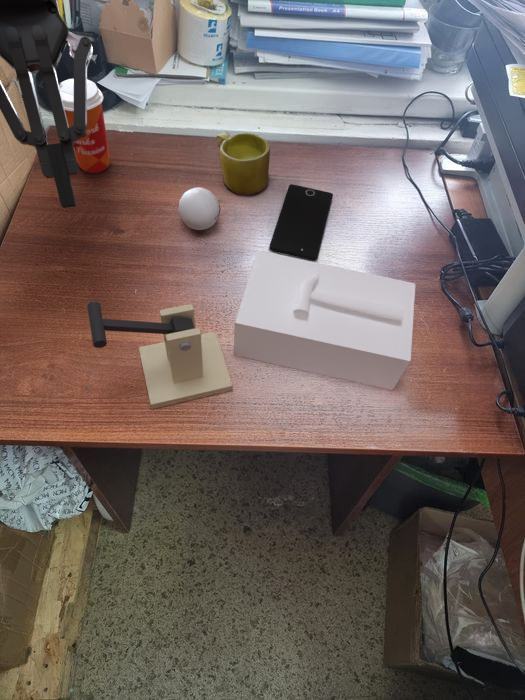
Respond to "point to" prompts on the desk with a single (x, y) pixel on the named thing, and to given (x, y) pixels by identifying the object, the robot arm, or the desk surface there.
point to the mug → (244, 162)
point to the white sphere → (199, 208)
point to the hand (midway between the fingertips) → (69, 206)
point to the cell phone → (301, 222)
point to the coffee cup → (88, 128)
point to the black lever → (130, 325)
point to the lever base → (184, 363)
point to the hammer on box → (326, 320)
